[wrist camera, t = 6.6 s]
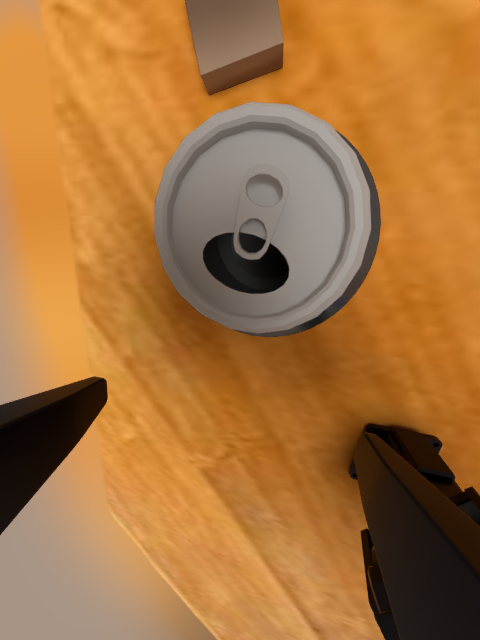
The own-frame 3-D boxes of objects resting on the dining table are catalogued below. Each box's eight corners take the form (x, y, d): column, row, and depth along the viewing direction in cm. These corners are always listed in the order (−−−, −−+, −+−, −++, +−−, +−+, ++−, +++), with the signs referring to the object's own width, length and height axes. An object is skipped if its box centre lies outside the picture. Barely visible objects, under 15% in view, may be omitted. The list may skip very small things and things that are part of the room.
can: (210, 272, 19) (117, 311, 8) (234, 171, 17) (148, 26, 6) (298, 300, 19) (327, 381, 8) (335, 201, 17) (461, 107, 5)
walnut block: (282, 67, 15) (283, 42, 13) (209, 94, 16) (200, 75, 14) (268, -38, 14) (266, -82, 12) (189, 0, 15) (177, -36, 13)
